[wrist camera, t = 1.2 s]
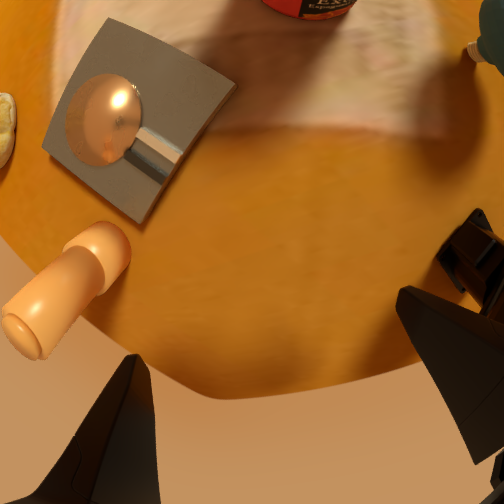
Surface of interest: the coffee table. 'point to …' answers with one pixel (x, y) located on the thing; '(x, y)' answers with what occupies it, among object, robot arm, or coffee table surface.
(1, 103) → the bread roll
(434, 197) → the coffee table surface
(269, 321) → the coffee table surface
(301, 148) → the coffee table surface
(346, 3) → the canned food
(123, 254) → the tapered peach knob
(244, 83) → the coffee table surface
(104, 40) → the plate
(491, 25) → the light bulb
